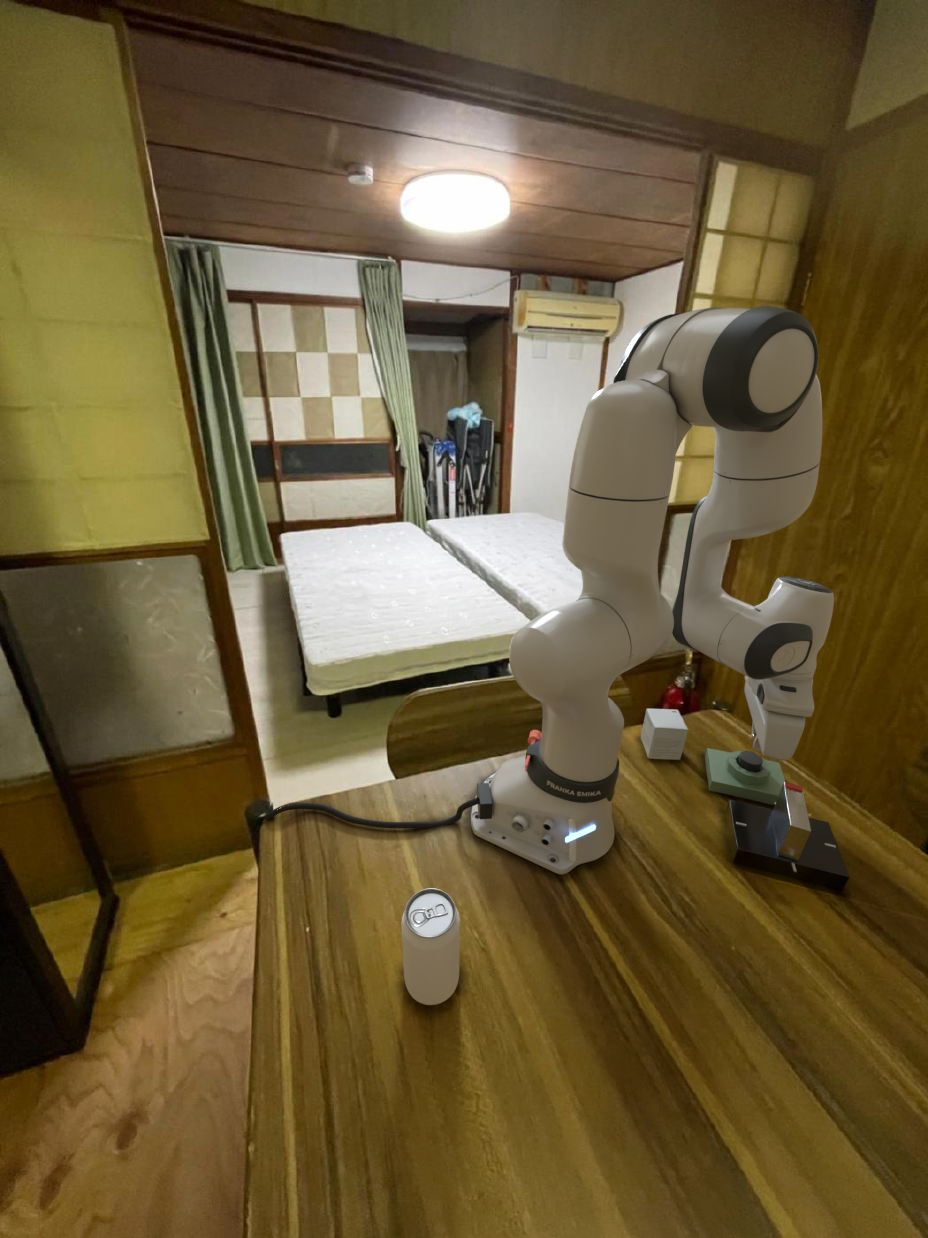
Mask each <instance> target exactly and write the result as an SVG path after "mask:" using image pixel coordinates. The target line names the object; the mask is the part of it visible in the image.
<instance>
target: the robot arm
mask: <svg viewBox="0 0 928 1238" xmlns="http://www.w3.org/2000/svg"><path fill="white" fill-rule="evenodd" d="M818 367H819V345H818V342H817V337H816V334H815V331H814V329H813V327H812V324H811V323H810V322H809V320H808V319H807V318H806V317H805V316H804V315H802V314H801V313H799V312H797V311H794V310H790V309H787V308H783V307H779V306H778V307H777V306H770V305H761V306H756V307H753V308H744V307H722V306H712V307H704V308H699V309H694V310H691V311H687V312H682V313H670V314H667V315H664V316H661V317H659V318H657V319H655V320H652V321H650V322H649V323H648V324H645V326H643V327H642V328H641V329H640V330H638V332H637V333H636V334H635V335H634V336H633V338H632V339H631V340H630V342H629V344H628V345H627V347H626V349H625V351H624V352H623V356H622V358H621V361H620V365H619V367H618V370H617V372H616V373H615V375H614V377H613V383H611V384H608V385H606V386H604V387H602V388H601V389H599V390H598V391H597V392H595V393H594V394H593V396H592V397H591V398H590V400H589V402H588V403H587V405H586V408H585V410H584V414H583V417H582V420H581V424H580V428H579V431H578V434H577V438H576V444H575V447H574V451H573V456H572V461H571V467H570V475H569V482H568V489H567V500H566V509H565V516H564V524H563V525H564V526H563V533H562V544H561V545H562V551H563V554H564V556H565V558H566V559H567V560H568V561H569V562H570V564H571V565H573V566H574V567H575V568H577V569H578V570H580V573H581V580H582V590H581V591H580V592H581V593H580V595H579V597H578V598H577V599H576V600H575V601H571V602H569V603H567V604H564V605H561V606H558V607H555V608H552V609H551V610H547V611H545V612H543V613H541V614H539V615H538V616H536V617H534V618H533V619H532V620H530V621H529V622H528V623H526V624H524V625H523V626H522V627H521V628H520V629H518V630H517V631H515V632H514V634H513V636H512V637H511V640H510V643H509V647H508V648H509V649H508V661H509V662H508V663H509V668H510V670H511V674H512V677H513V678H514V679H515V681H516V683H517V685H518V686H519V687H520V688H521V689H522V691H524V692H525V693H526V694H527V695H528V696H529V697H531V698H533V699H534V700H536V701H538V702H540V705H541V710H542V720H541V722H542V724H541V731H540V730H539V729H532V730H530V732H529V735H528V738H527V743H528V744H529V745H528V746H527V748H526V752H525V754H524V755H521V756H517V757H513V758H509V759H507V760H505V761H504V762H502V764H500V766H499V767H498V768H497V770H496V772H495V773H493V774H491V775H490V776H489V777H487V778H486V779H485V781H483V782H478V783H476V794H475V797H474V798H472V799H470V800H467V801H465V802H463V803H461V805H459V806H458V807H457V809H456V813H455V815H454V816H451V817H449V818H446V819H442V820H439V821H383V820H381V821H380V820H373V819H368V818H362V817H357V816H353V815H350V814H347V813H344V812H343V811H340V810H338V809H336V808H334V807H332V806H329V805H327V804H320V803H313V802H296V804H294V803H287V804H284V805H280V806H278V807H276V808H274V809H272V810H271V811H270V812H268V813H267V814H266V815H265V816H264V820H266V821H268V820H269V821H270V820H271V819H273V818H275V816H277V815H279V814H281V813H285V812H287V811H295V810H314V811H315V810H317V811H322V812H325V813H327V814H330V815H332V816H334V817H336V818H338V819H340V820H343V821H345V822H348V823H351V824H355V825H360V826H364V827H365V826H366V827H371V828H372V827H373V828H380V829H381V828H382V829H433V828H437V827H438V828H439V827H444V826H450V825H453V824H455V823H457V822H459V821H460V820H461V819H462V817H463V813H464V812H465V810H468V809H470V808H471V812H470V826H471V830H472V833H473V834H474V835H475V836H477V837H479V838H481V839H483V840H485V841H487V842H489V843H491V844H492V845H496V846H497V847H500V848H502V849H504V850H506V851H508V852H510V853H512V854H514V855H517V856H519V857H520V858H523V859H525V860H526V861H529V862H531V863H534V864H535V865H538V866H540V867H542V868H544V869H546V870H548V871H551V872H552V873H554V874H557V875H560V876H561V875H565V874H568V873H569V872H571V871H572V870H574V869H575V868H576V867H577V866H579V865H581V864H585V863H586V864H587V863H590V862H593V861H597V860H598V859H600V858H601V857H603V856H605V855H606V854H607V853H608V852H609V850H610V849H611V848H612V846H613V844H614V841H615V835H616V832H615V826H614V819H613V798H614V796H615V794H616V791H617V786H618V782H619V777H620V759H619V754H620V749H621V744H622V738H623V732H624V727H625V718H624V715H623V713H622V711H621V709H620V708H619V706H618V705H617V704H616V702H615V701H614V700H612V699H611V698H610V697H609V691H610V688H611V687H612V684H613V683H614V681H615V680H616V678H617V677H619V676H620V675H622V674H624V673H626V672H627V671H630V670H631V669H634V668H635V667H637V666H639V665H641V664H643V663H645V662H647V661H648V660H649V659H650V660H651V658H652V657H653V656H655V654H656V653H658V652H659V650H661V648H663V646H665V644H666V643H667V642H668V641H669V640H670V638H671V636H673V638H674V640H675V641H676V642H677V643H678V644H680V645H682V646H684V647H687V648H689V649H691V650H694V651H697V652H698V653H699V652H700V653H701V654H703V655H705V656H707V657H709V658H710V659H712V660H714V661H716V662H718V663H720V664H721V665H723V666H725V667H728V668H730V669H732V670H733V671H736V672H737V673H739V674H741V675H743V676H744V680H745V683H744V689H743V690H744V691H743V692H744V695H745V699H746V702H747V706H748V709H749V712H750V716H751V719H752V724H751V725H752V726H751V733H750V734H751V735H750V742H751V745H752V749H753V750H754V751H756V752H761V754H762V756H764V757H765V758H768V759H771V760H772V759H773V760H776V761H777V760H778V761H784V762H785V761H789V760H791V759H792V758H793V756H794V755H795V752H796V750H797V748H798V745H799V743H800V740H801V738H802V735H803V733H804V729H805V726H806V718H812V716H813V715H814V711H815V701H814V693H813V683H814V679H813V678H814V675H815V673H816V669H817V665H818V660H817V658H818V654H819V651H821V649H822V647H824V644H825V642H826V639H827V636H828V633H829V629H830V626H831V622H832V618H833V612H834V606H835V594H834V592H833V591H832V590H831V589H830V588H828V587H827V586H825V585H823V584H821V583H818V582H815V581H812V580H809V579H805V578H800V577H797V576H780V577H778V578H776V580H775V581H774V582H773V585H772V586H771V589H770V591H769V593H768V596H767V598H766V599H765V600H763V601H762V602H761V603H759V604H757V605H752V604H749V603H747V602H744V601H742V600H740V599H737V598H735V597H733V596H731V595H730V594H728V593H727V592H726V591H725V590H724V589H723V587H722V585H721V578H722V573H723V569H724V565H725V560H726V556H727V551H728V546H729V544H730V542H731V541H735V540H736V541H737V540H746V539H753V538H759V537H762V536H766V535H770V534H772V533H775V532H778V531H779V530H782V529H785V528H786V527H788V526H790V525H792V524H793V523H794V522H796V521H797V520H798V519H799V518H800V517H801V516H803V514H805V512H806V511H807V510H808V509H809V507H810V506H811V504H812V502H813V499H814V497H815V493H816V490H817V487H818V481H819V475H820V473H819V472H820V464H821V457H822V448H823V447H822V446H823V403H822V402H823V401H822V400H823V399H822V392H821V383H820V380H819V378H818V375H817V371H818ZM693 426H696V427H706V428H712V429H713V432H714V435H715V442H714V443H715V444H714V453H713V472H712V473H713V474H712V481H711V486H710V489H709V491H708V494H707V495H705V496H704V497H703V498H701V499H700V500H699V501H698V503H697V504H696V505H695V507H694V510H693V512H692V513H691V518H690V520H689V525H688V531H687V535H686V540H685V545H684V546H685V547H684V553H683V559H682V565H681V572H680V578H679V584H678V589H677V590H678V591H677V594H676V598H675V600H674V602H673V605H672V607H671V605H670V603H669V601H668V600H667V599H666V598H665V596H664V595H663V594H662V593H661V590H660V583H659V555H660V554H659V553H660V548H661V543H662V537H663V536H662V535H663V532H664V526H665V521H666V517H667V511H668V506H669V500H670V495H671V492H672V484H673V480H674V472H675V465H676V456H677V453H678V450H679V447H680V446H681V444H682V442H683V440H684V439H685V438H686V435H687V434H688V432H689V431H690V430H691V429H692V428H693ZM286 805H289V806H286ZM283 806H284V807H283ZM280 807H282V808H281V809H279V808H280ZM277 809H278V810H277Z"/></svg>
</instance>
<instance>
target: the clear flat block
mask: <svg viewBox="0 0 928 1238" xmlns="http://www.w3.org/2000/svg"><path fill="white" fill-rule="evenodd" d="M807 808H808V807H807V803H806V799H805V794H804V789H803V786H802V785H799V784H794V783H791V782H787V781H786V782H784V783H783V785H782V788H781V791H780V793H779V796H778V798H777V801H776V804H775V805H773V808H772V809H773V816H774V824H775V833H776V841H777V849H778V855H780V856H783V857H786V858H789V859H793V860H796V861H798V860H799V858H800V856H801V853H802V851H803V849H804V846H805V844H806V842H807V840H808V837H809V835H810V833H811V828H810V823H809V818H810V817H809V814H808V813H809V812H808V809H807Z"/></svg>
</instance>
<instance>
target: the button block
mask: <svg viewBox="0 0 928 1238" xmlns="http://www.w3.org/2000/svg"><path fill="white" fill-rule="evenodd" d="M705 751H706V752H705V754H704V759H705V760H704V762H705V769H706V777H707V784H708V791H711V792H715V793H719V794H723V795H728V796H733V797H736V798H741V799H746V800H749V801H750V800H751V801H754V802H760V803H763V804H768V805H772V806H775V802H776V801H777V798H778V796H779V793H780V791H781V788H782V785H783V783H784V782H787V781H786V778H785V775H784V773H783V768H782V766H781V763H780V762H778V761H773V760H768V759H764V758H763V757H761V758H762V759H763V763H762V766H761V769H760V771H759V772H750V771H747V770H745V769H743V768H741V767H740V766H739V765H738V763H737V761H738V758H739V755H740V753H741V752H742V751H743V750H736V751H732V752H729V751H725V750H721V749H715V748H709V747H707V748H706V750H705Z"/></svg>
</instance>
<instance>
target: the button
mask: <svg viewBox="0 0 928 1238" xmlns="http://www.w3.org/2000/svg"><path fill="white" fill-rule="evenodd" d="M741 751H742V752H741V753H740V755H739V758H738V761H737V763H738V765H739V766H740V767H741V768H743V769H745V770H747V771H750V772H759V771H760V769H761V766H762V763H763V759H764V758H763V757H761V755H760V754H758V753H757V752H754V751H750V750H741ZM762 758H763V759H762Z"/></svg>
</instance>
